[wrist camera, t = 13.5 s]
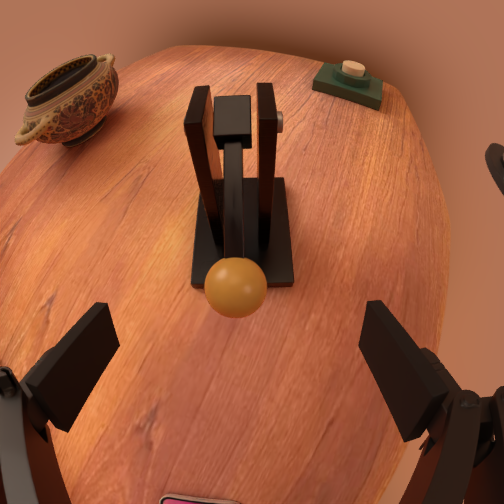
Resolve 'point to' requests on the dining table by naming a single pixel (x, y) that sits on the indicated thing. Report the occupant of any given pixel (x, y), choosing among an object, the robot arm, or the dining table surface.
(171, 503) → the smartphone
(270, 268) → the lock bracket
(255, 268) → the lever
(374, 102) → the green button base
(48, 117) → the ceramic bowl
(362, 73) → the bell button
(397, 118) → the dining table surface
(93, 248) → the dining table surface
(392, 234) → the dining table surface
